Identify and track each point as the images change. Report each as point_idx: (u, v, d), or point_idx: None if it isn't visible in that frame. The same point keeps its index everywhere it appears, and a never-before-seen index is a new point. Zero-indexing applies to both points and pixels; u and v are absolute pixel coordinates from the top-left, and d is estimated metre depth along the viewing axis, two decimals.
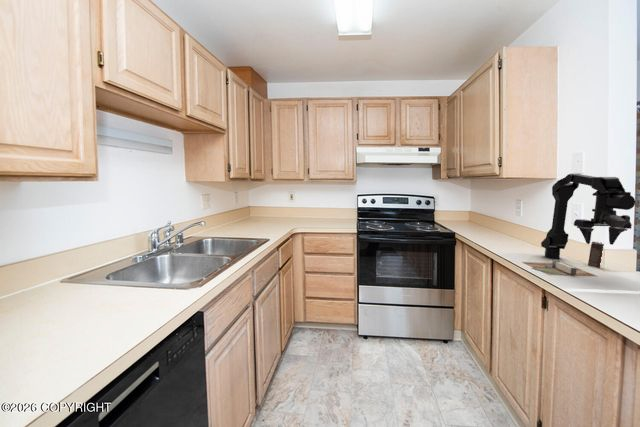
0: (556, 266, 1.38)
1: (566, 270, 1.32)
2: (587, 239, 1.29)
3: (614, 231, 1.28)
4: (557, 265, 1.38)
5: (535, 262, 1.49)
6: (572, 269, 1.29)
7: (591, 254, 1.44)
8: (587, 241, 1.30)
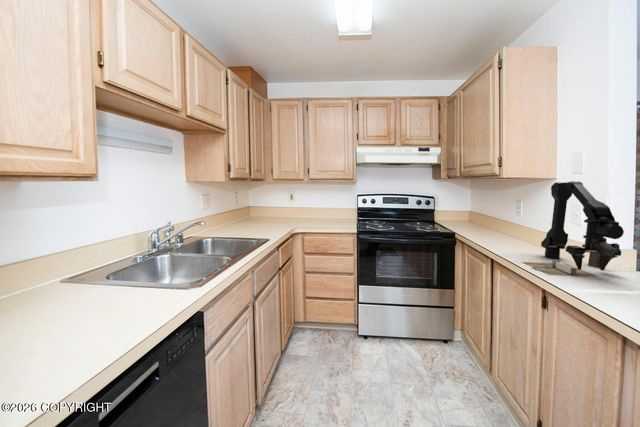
0: (556, 266, 1.38)
1: (566, 270, 1.32)
2: (578, 265, 1.33)
3: (604, 257, 1.32)
4: (557, 265, 1.38)
5: (535, 262, 1.49)
6: (572, 269, 1.29)
7: (591, 254, 1.44)
8: (578, 267, 1.33)
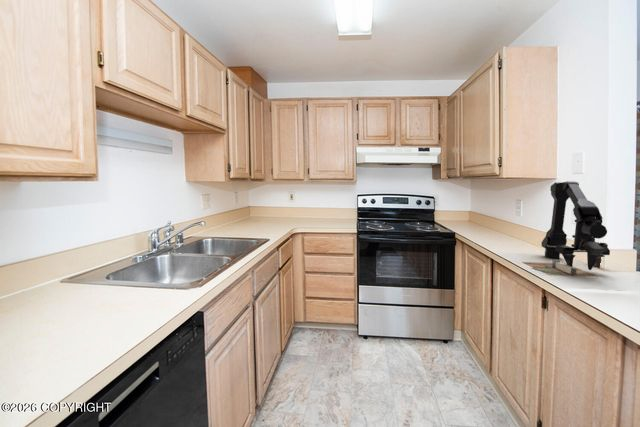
0: (556, 266, 1.38)
1: (566, 270, 1.32)
2: (569, 265, 1.33)
3: (592, 257, 1.32)
4: (557, 265, 1.38)
5: (535, 262, 1.49)
6: (572, 269, 1.29)
7: None
8: None
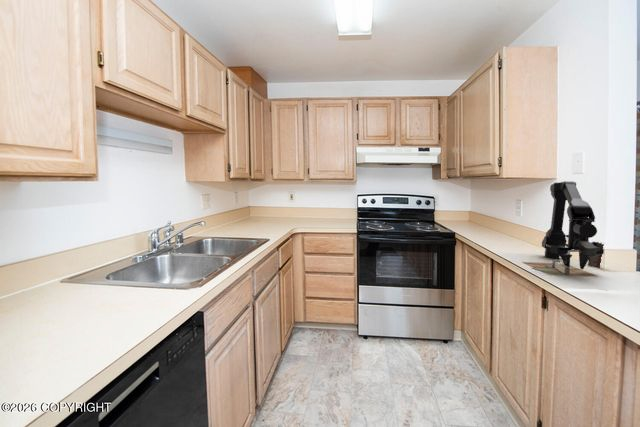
0: (555, 266, 1.39)
1: (561, 270, 1.33)
2: (566, 265, 1.33)
3: (584, 256, 1.33)
4: (555, 265, 1.38)
5: (535, 262, 1.49)
6: (566, 269, 1.30)
7: None
8: None
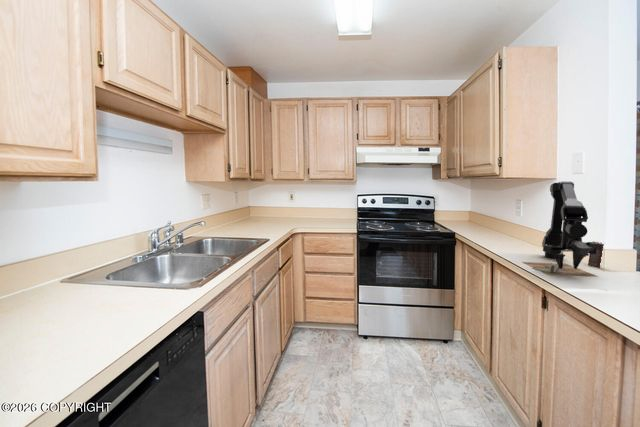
0: None
1: None
2: (560, 264, 1.34)
3: (577, 256, 1.33)
4: None
5: (535, 262, 1.49)
6: (551, 267, 1.33)
7: (591, 254, 1.44)
8: (560, 266, 1.34)
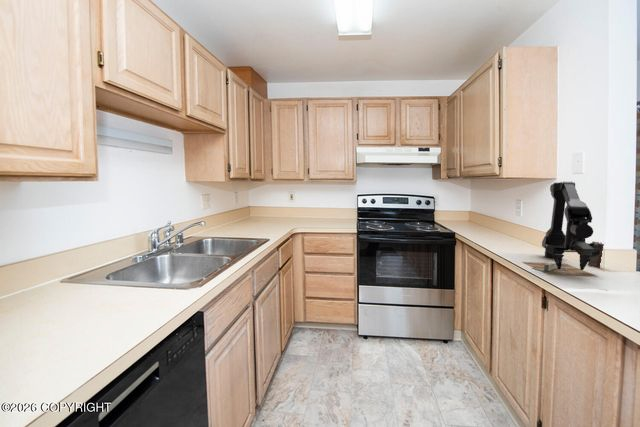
0: None
1: None
2: (558, 264, 1.34)
3: (584, 257, 1.33)
4: None
5: (535, 262, 1.49)
6: None
7: None
8: (558, 266, 1.34)
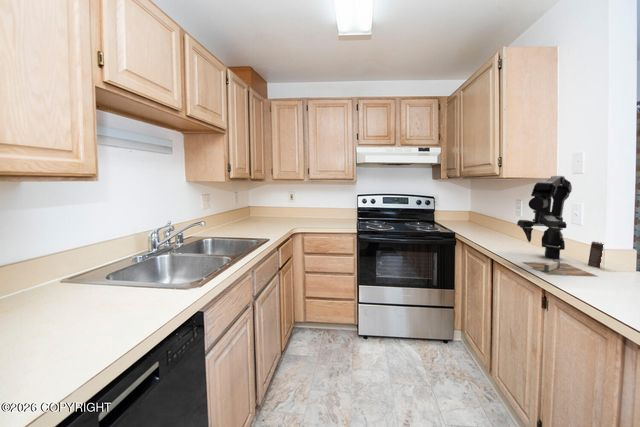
0: None
1: None
2: (528, 237, 1.44)
3: (552, 230, 1.43)
4: None
5: (535, 262, 1.49)
6: None
7: (591, 254, 1.44)
8: (528, 239, 1.44)
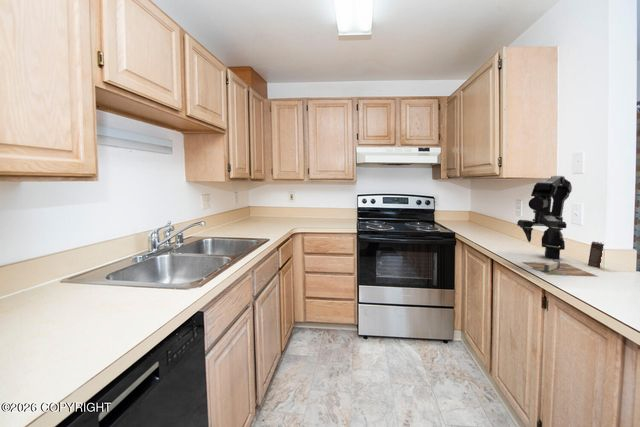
0: None
1: None
2: (528, 237, 1.44)
3: (552, 230, 1.43)
4: None
5: (535, 262, 1.49)
6: None
7: (591, 254, 1.44)
8: (528, 239, 1.44)
